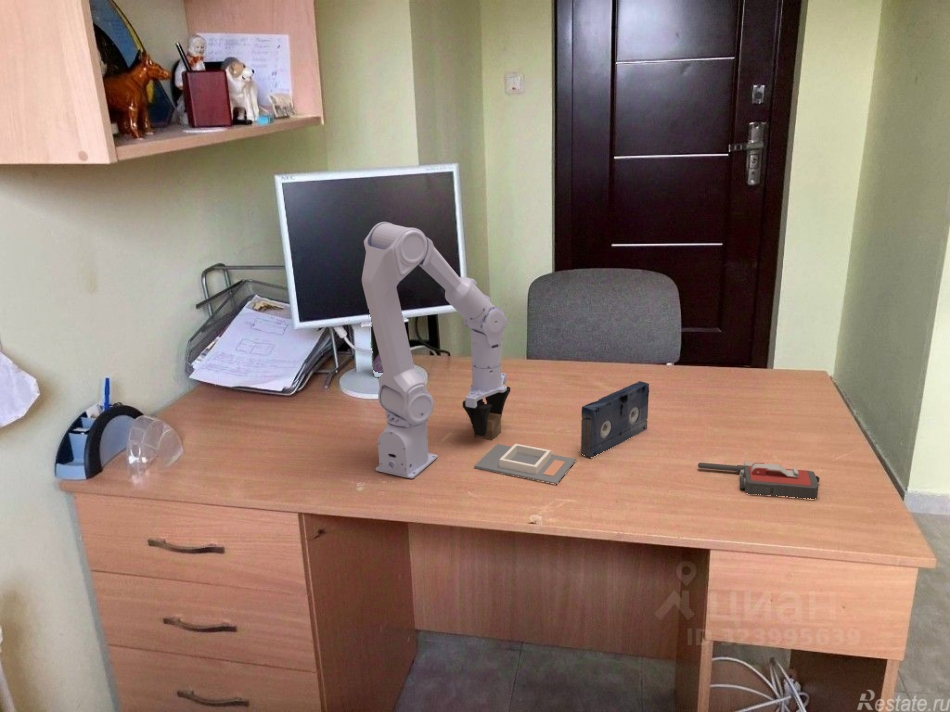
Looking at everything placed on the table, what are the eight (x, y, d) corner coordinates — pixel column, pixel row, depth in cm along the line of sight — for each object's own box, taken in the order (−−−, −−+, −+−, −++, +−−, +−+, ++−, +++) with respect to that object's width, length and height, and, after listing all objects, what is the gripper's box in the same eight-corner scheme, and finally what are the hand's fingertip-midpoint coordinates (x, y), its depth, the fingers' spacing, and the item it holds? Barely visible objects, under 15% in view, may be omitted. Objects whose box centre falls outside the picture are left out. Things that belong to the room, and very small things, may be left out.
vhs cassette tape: (637, 426, 158) (639, 380, 155) (649, 430, 156) (652, 383, 153) (578, 454, 146) (579, 405, 143) (590, 459, 144) (591, 410, 141)
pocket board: (556, 485, 135) (556, 475, 135) (474, 468, 142) (474, 458, 141) (576, 461, 144) (576, 451, 143) (497, 446, 150) (497, 436, 150)
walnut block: (492, 440, 153) (492, 422, 152) (474, 437, 155) (473, 418, 153) (501, 432, 156) (500, 414, 155) (483, 429, 158) (482, 411, 157)
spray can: (380, 380, 186) (375, 298, 179) (368, 374, 190) (362, 294, 183) (399, 374, 189) (395, 294, 183) (387, 368, 193) (382, 290, 187)
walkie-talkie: (816, 479, 136) (697, 469, 141) (819, 456, 135) (698, 446, 139) (824, 504, 128) (698, 492, 133) (828, 480, 127) (700, 469, 131)
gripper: (488, 379, 143) (490, 446, 147) (520, 355, 155) (520, 417, 159) (454, 373, 146) (457, 439, 150) (488, 350, 158) (489, 412, 162)
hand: (487, 428), depth 155 cm, fingers open, 6 cm apart
